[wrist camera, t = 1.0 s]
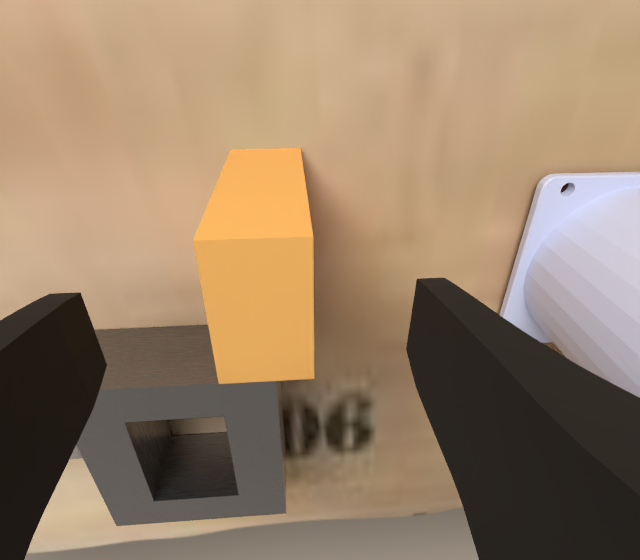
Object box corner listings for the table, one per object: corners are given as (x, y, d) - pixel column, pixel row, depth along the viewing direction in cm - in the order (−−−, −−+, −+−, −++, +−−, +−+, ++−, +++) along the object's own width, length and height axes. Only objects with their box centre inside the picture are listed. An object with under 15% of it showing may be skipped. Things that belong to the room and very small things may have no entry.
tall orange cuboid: (300, 148, 14) (313, 236, 8) (302, 250, 16) (314, 378, 10) (230, 149, 14) (192, 240, 8) (242, 252, 16) (218, 384, 10)
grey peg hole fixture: (277, 321, 18) (276, 380, 15) (285, 449, 23) (286, 513, 20) (-109, 339, 17) (-191, 405, 14) (-16, 469, 22) (-63, 539, 19)
